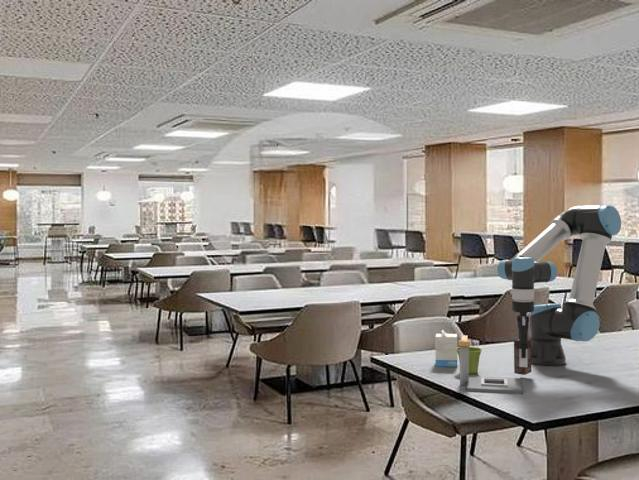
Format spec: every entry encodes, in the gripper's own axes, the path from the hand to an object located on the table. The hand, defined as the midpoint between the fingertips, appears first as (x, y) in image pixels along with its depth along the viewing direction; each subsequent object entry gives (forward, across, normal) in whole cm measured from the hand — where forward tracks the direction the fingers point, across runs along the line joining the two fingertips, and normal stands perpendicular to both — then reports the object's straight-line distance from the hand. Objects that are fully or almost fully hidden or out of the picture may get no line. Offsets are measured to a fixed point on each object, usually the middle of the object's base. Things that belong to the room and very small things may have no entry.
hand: (522, 364), depth 244 cm
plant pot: (+5, -6, -19) cm, 21 cm away
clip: (-9, +9, -20) cm, 24 cm away
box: (+3, 0, 0) cm, 3 cm away
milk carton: (+5, -18, -28) cm, 34 cm away
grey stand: (+5, +14, -11) cm, 19 cm away
